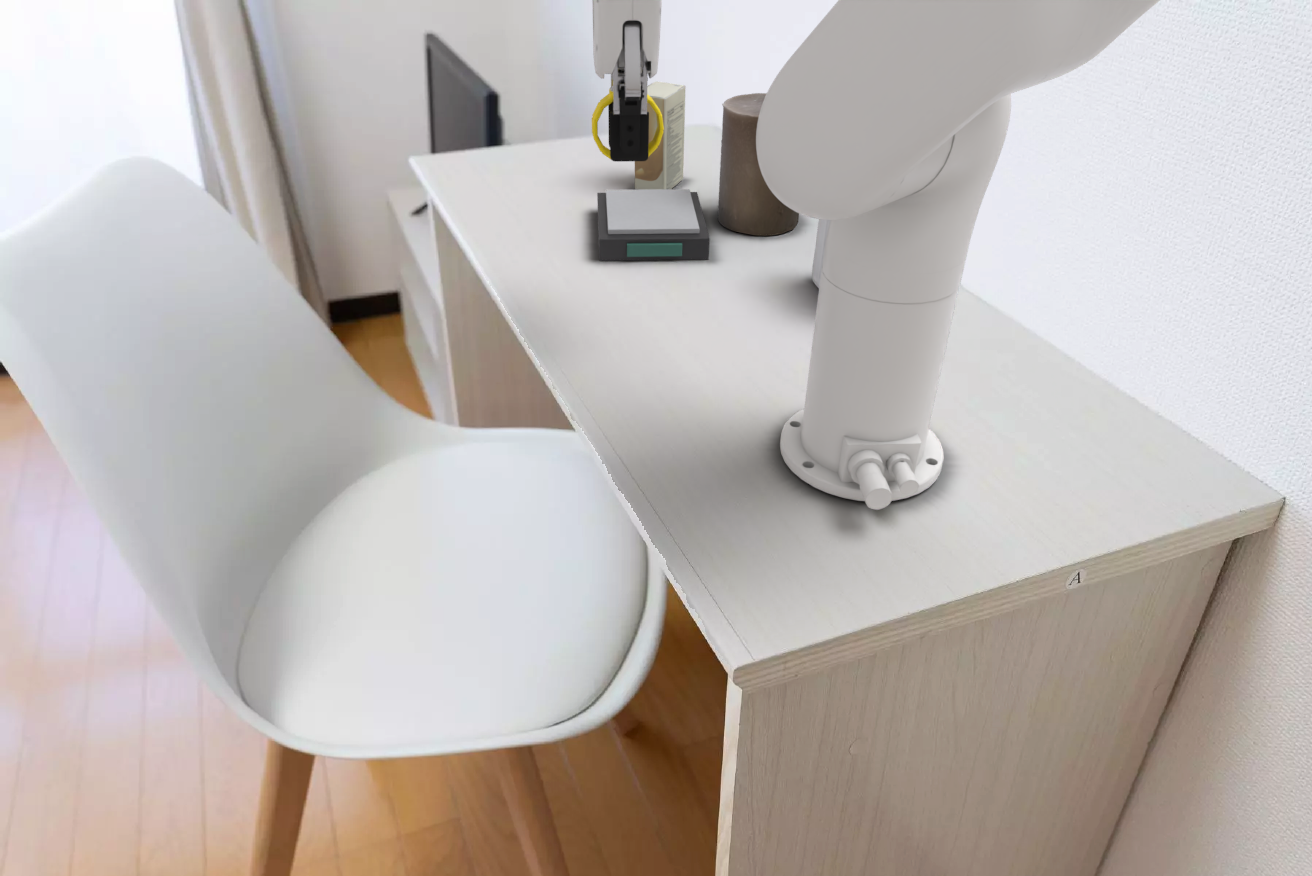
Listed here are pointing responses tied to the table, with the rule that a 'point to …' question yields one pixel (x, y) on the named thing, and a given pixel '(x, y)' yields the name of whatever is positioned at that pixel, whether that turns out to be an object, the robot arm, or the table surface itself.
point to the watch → (608, 100)
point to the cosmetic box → (664, 139)
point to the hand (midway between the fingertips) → (628, 152)
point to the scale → (651, 225)
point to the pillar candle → (747, 175)
